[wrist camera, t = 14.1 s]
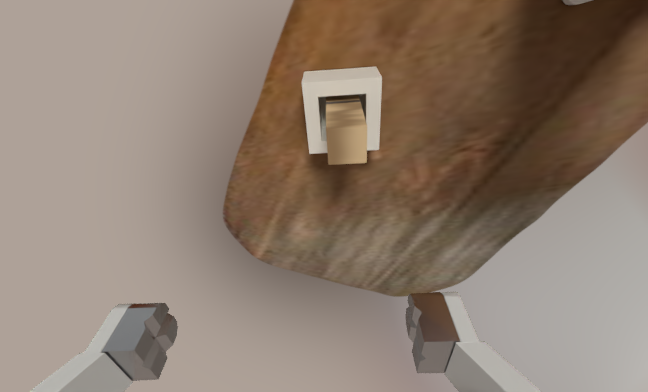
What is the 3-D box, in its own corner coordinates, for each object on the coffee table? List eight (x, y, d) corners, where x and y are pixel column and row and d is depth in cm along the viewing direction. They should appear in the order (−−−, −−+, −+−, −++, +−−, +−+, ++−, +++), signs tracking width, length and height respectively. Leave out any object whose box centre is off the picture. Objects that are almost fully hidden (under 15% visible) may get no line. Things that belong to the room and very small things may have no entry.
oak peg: (357, 89, 39) (367, 126, 29) (357, 119, 41) (366, 163, 32) (325, 91, 39) (325, 128, 29) (327, 121, 42) (328, 165, 32)
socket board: (376, 66, 38) (381, 77, 34) (373, 133, 43) (378, 149, 39) (304, 71, 38) (301, 82, 34) (311, 137, 43) (309, 153, 39)
